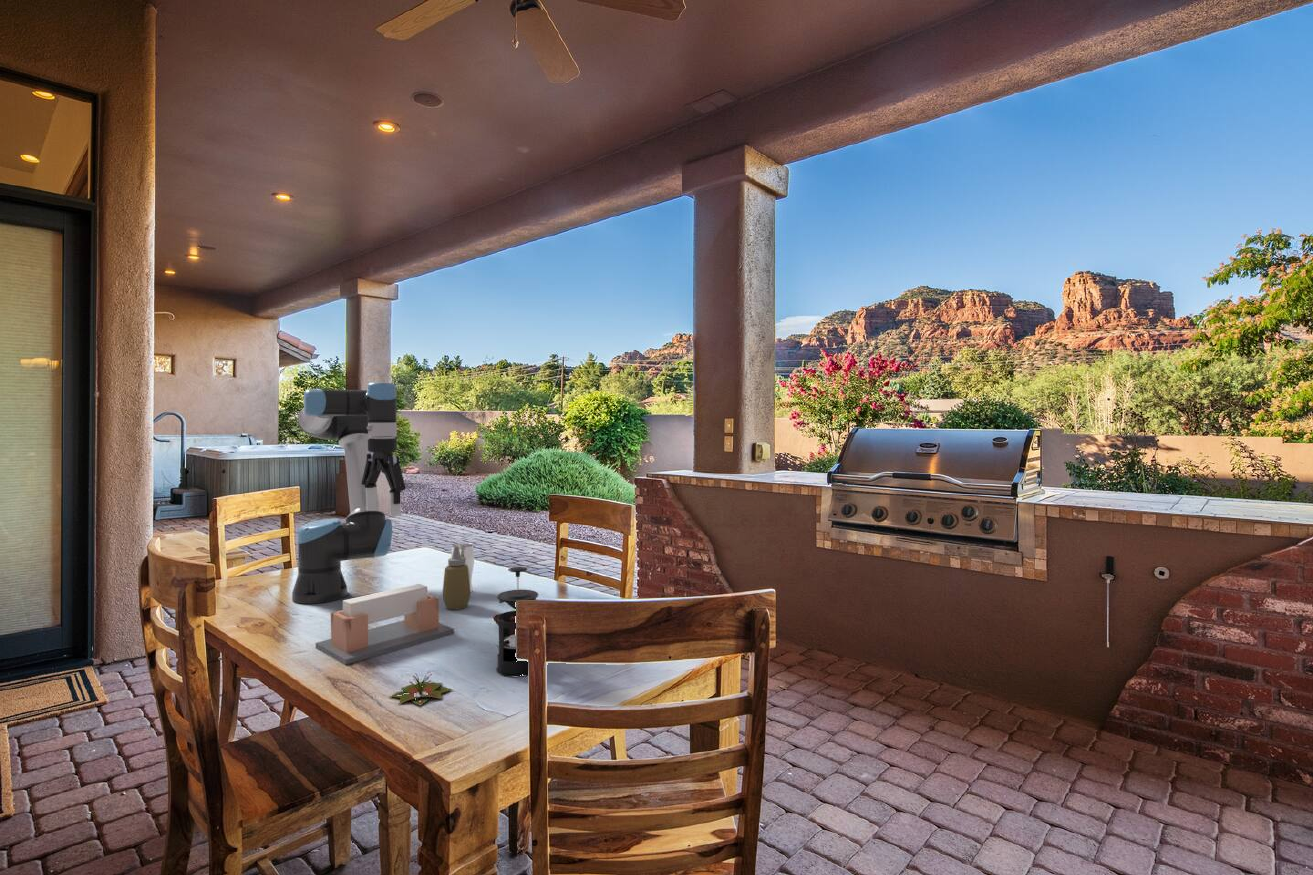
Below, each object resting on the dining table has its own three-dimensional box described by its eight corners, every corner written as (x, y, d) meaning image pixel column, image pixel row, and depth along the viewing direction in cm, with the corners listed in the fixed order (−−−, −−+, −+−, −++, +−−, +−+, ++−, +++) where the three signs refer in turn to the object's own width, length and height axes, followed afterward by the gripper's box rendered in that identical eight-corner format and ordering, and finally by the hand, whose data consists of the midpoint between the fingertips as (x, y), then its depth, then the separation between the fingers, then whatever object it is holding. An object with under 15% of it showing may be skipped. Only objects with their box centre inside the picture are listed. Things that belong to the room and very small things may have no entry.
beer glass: (478, 590, 210) (478, 544, 209) (465, 596, 203) (465, 548, 203) (460, 588, 212) (460, 542, 212) (446, 594, 206) (446, 546, 205)
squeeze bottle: (462, 612, 188) (462, 550, 187) (436, 610, 189) (436, 548, 189) (475, 604, 196) (475, 544, 195) (451, 602, 197) (450, 542, 196)
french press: (509, 681, 141) (509, 575, 140) (485, 669, 147) (485, 568, 146) (553, 666, 149) (553, 566, 148) (528, 655, 156) (528, 559, 155)
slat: (342, 624, 158) (342, 600, 158) (419, 606, 173) (419, 583, 173) (350, 628, 156) (350, 603, 155) (427, 609, 171) (427, 586, 171)
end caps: (315, 647, 159) (314, 611, 159) (421, 619, 181) (421, 587, 180) (345, 664, 149) (345, 625, 149) (454, 633, 170) (453, 599, 170)
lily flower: (376, 701, 132) (376, 678, 132) (423, 679, 142) (423, 658, 142) (418, 714, 126) (418, 691, 126) (464, 691, 137) (464, 669, 137)
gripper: (348, 436, 189) (349, 509, 190) (391, 439, 173) (392, 519, 174) (373, 435, 195) (374, 506, 196) (418, 438, 179) (418, 516, 180)
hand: (383, 513), depth 185 cm, fingers open, 13 cm apart
